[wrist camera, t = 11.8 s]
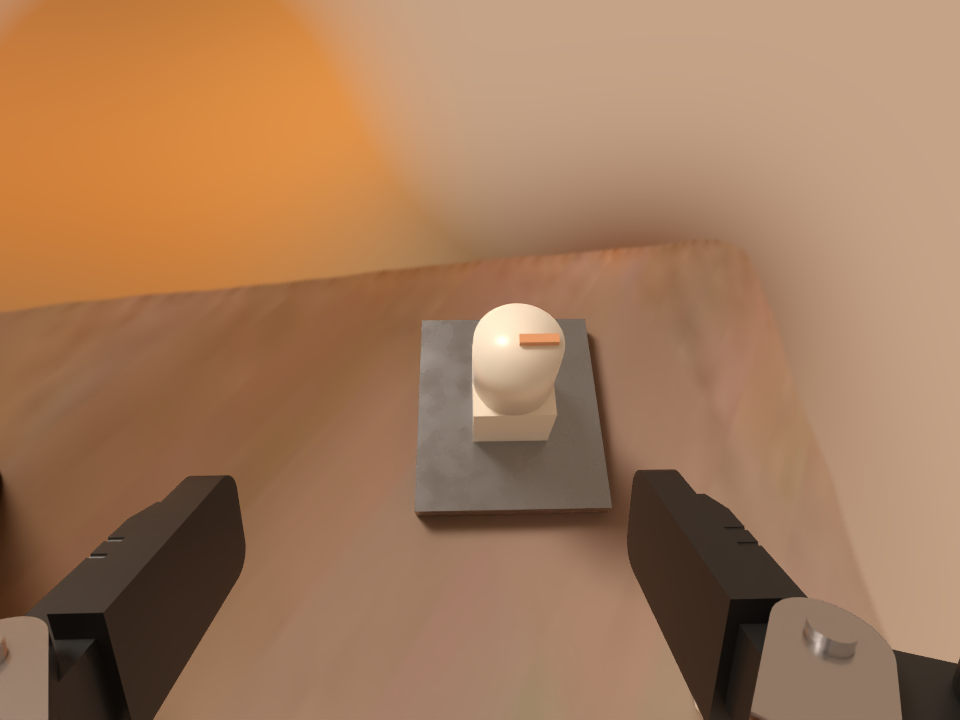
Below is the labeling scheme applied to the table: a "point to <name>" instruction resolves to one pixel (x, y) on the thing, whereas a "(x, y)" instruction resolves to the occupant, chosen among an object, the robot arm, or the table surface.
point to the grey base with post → (505, 464)
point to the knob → (515, 374)
